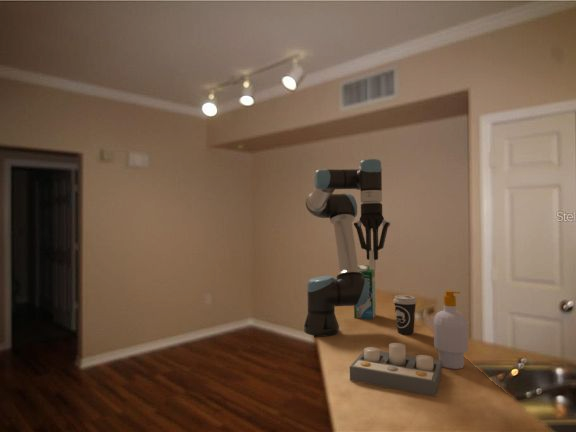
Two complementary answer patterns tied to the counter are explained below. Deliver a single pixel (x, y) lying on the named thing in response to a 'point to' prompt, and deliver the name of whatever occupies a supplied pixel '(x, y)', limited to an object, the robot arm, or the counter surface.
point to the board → (397, 374)
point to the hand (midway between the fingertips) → (372, 268)
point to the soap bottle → (451, 333)
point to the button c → (424, 362)
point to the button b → (397, 354)
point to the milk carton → (370, 306)
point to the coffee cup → (405, 313)
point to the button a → (372, 354)
